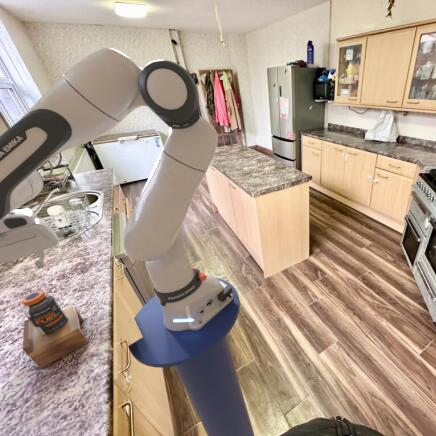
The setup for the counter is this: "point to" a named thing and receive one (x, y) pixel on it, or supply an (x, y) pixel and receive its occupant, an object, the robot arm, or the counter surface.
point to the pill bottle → (44, 312)
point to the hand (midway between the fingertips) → (16, 276)
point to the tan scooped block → (54, 339)
